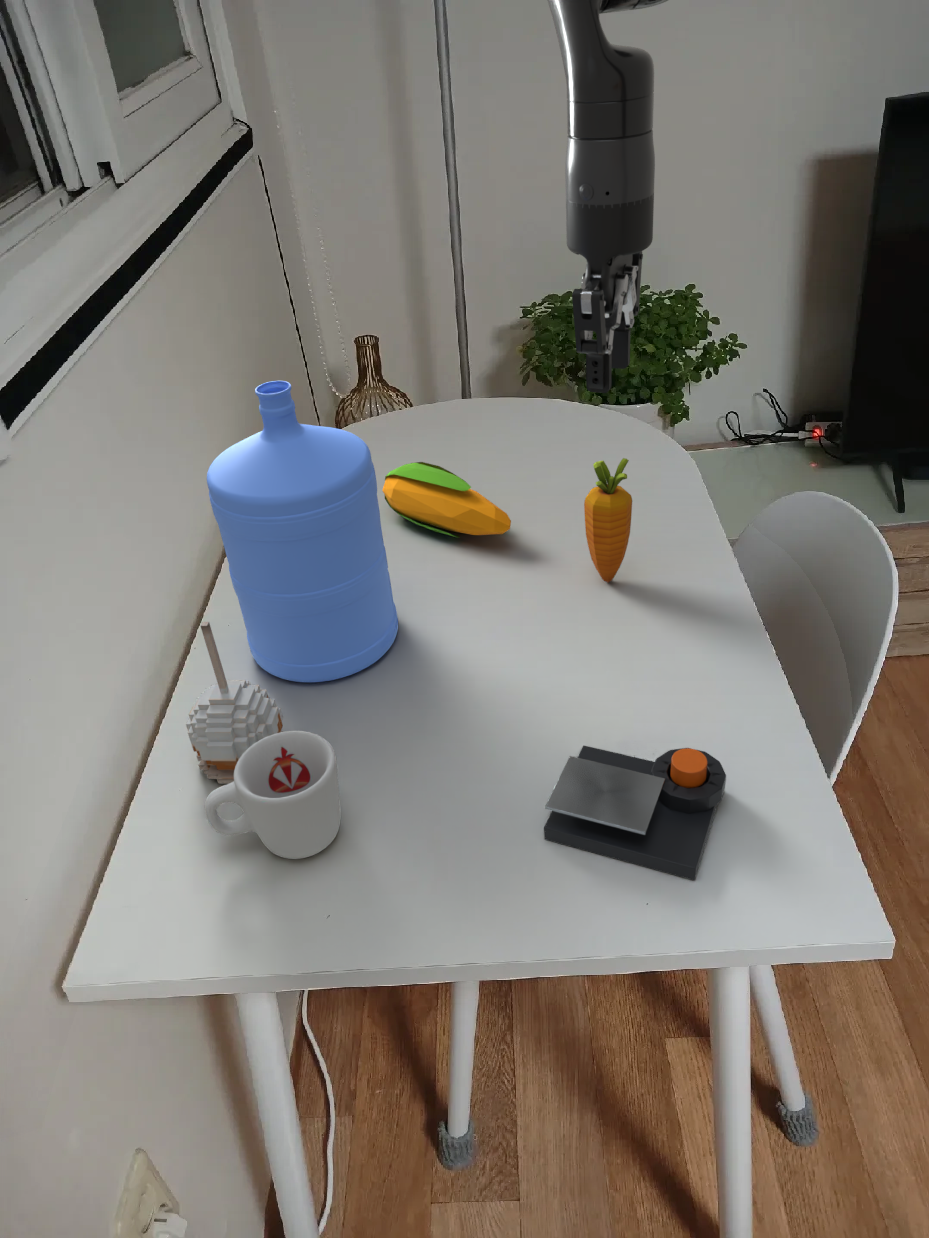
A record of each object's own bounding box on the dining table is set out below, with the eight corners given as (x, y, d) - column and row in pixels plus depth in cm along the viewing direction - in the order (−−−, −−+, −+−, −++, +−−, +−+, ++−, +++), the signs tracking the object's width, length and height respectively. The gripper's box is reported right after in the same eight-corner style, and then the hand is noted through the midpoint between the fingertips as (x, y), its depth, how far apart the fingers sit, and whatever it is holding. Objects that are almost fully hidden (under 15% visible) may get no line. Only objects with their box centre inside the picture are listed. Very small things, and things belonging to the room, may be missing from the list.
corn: (404, 441, 121) (529, 479, 110) (413, 492, 126) (534, 534, 114) (363, 467, 117) (489, 510, 105) (374, 519, 122) (496, 566, 110)
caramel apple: (295, 728, 89) (262, 596, 81) (274, 788, 83) (237, 652, 74) (216, 728, 90) (175, 597, 82) (189, 787, 84) (142, 653, 75)
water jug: (368, 695, 92) (319, 428, 76) (225, 677, 97) (149, 420, 80) (419, 604, 104) (385, 357, 88) (289, 592, 109) (234, 353, 92)
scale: (728, 783, 79) (731, 757, 77) (699, 882, 71) (702, 855, 70) (586, 750, 84) (586, 724, 82) (544, 839, 76) (542, 813, 74)
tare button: (709, 768, 77) (710, 752, 76) (701, 792, 75) (703, 776, 74) (675, 760, 78) (676, 744, 77) (666, 783, 76) (667, 767, 75)
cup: (223, 893, 74) (197, 822, 70) (217, 820, 81) (194, 751, 76) (358, 857, 76) (342, 786, 71) (342, 788, 82) (327, 719, 78)
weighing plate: (665, 780, 76) (665, 778, 76) (645, 835, 72) (645, 832, 71) (569, 758, 79) (569, 755, 79) (545, 808, 75) (544, 806, 74)
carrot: (627, 568, 107) (630, 446, 98) (632, 593, 103) (636, 468, 94) (583, 570, 107) (582, 449, 99) (586, 595, 103) (585, 471, 94)
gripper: (629, 212, 75) (625, 412, 85) (673, 172, 86) (666, 354, 95) (539, 210, 78) (546, 404, 88) (593, 172, 88) (593, 349, 98)
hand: (608, 378), depth 91 cm, fingers open, 5 cm apart
